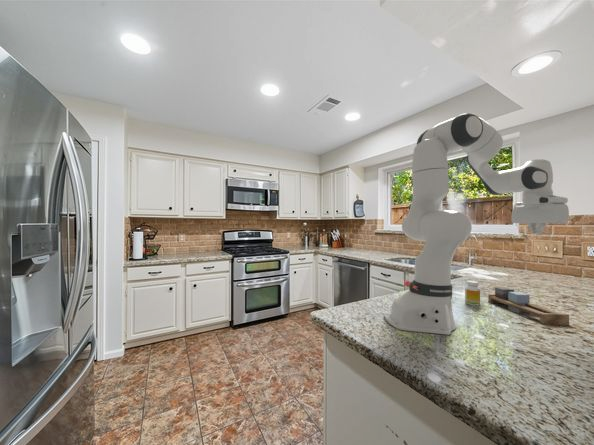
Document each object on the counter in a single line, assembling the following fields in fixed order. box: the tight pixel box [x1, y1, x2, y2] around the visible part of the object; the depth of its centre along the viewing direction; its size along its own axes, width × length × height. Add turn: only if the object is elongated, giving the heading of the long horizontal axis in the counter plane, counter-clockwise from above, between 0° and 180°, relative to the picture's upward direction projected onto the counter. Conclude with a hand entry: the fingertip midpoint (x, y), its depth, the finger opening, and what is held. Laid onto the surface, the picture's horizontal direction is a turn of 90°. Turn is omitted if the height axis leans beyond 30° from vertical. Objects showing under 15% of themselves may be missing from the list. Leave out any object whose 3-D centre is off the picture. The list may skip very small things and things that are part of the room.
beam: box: [487, 286, 570, 326], centre depth 97 cm, size 9×24×7 cm, turn 0°
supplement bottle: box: [464, 280, 481, 307], centre depth 106 cm, size 5×5×10 cm
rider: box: [508, 291, 531, 306], centre depth 99 cm, size 5×4×4 cm
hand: (536, 234), depth 98 cm, fingers closed
